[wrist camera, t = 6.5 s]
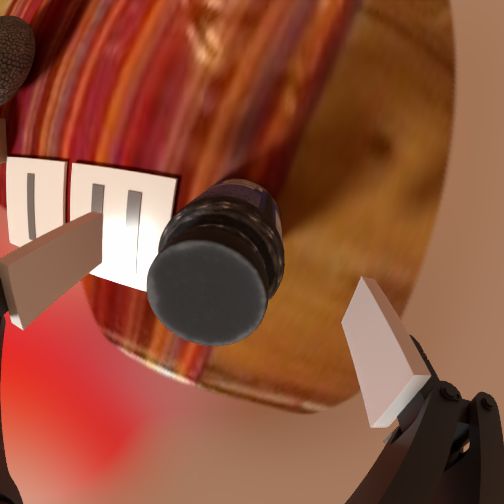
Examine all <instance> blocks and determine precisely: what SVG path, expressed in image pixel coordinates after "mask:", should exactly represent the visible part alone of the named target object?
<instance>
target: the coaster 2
mask: <svg viewBox="0 0 504 504" xmlns="http://www.w3.org/2000/svg"><path fill="white" fill-rule="evenodd" d="M177 181H178V178H172V177H167V176H161V175H156V174H150V173H144V172H138V171H132V170H126V169H119V168H112V167H106V166H98V165H91V164H83V163H72V176H71V198H70V221H72V220H74V219H76V218H78V217H81V216H83V215H85V214H87V213H89V212H92V211H93V212H97V213H102V214H103V262H102V263H101V264H100V265H99V266H97V267H96V268H95V269H93V270H92V271H91V272H90V274H93V275H96V276H99V277H102V278H105V279H108V280H111V281H114V282H117V283H120V284H124V285H127V286H130V287H133V288H136V289H140V290H143V291H146V282H147V274H148V270H149V268H150V266H151V264H152V262H153V260H154V259H155V257H156V256H157V255H158V246H159V241H160V237H161V235H162V233H163V231H164V228H165V227H166V225H167V224H168V222H169V221H170V220H171V218H172V215H173V208H174V201H175V194H176V188H177ZM146 292H147V291H146Z"/></svg>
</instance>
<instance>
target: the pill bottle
mask: <svg viewBox="0 0 504 504" xmlns="http://www.w3.org/2000/svg"><path fill="white" fill-rule="evenodd" d="M284 266H285V263H284V248H283V238H282V229H281V220H280V212H279V209H278V206H277V204H276V202H275V200H274V199H273V197H272V195H271V194H270V193H269V192H268V191H267V190H266V189H265V188H264V187H262V186H261V185H259V184H257V183H256V182H252V181H250V180H247V179H237V178H232V179H226V180H223V181H220V182H217V183H216V184H214V185H213V186H211V187H210V188H209V189H207V190H206V191H205V192H203V193H202V194H201V195H199V196H198V197H197V198H195V199H194V200H193V201H191V202H190V203H189V204H188V205H186V206H185V207H183V208H182V209H181V210H180V211H179V212H178V213H176V214H175V215H174V216H173V217H172V218H171V220H170V221H169V222H168V224H167V225H166V227H165V228H164V231H163V233H162V235H161V237H160V241H159V246H158V255H157V256H156V257H155V259H154V260H153V262H152V264H151V266H150V268H149V270H148V274H147V282H146V291H147V296H148V300H149V303H150V305H151V308H152V310H153V312H154V313H155V315H156V316H157V317H158V319H159V320H160V321H161V322H162V323H163V325H165V327H166V328H168V329H169V330H170V331H171V332H173V333H175V334H176V335H178V336H179V337H181V338H183V339H185V340H187V341H190V342H193V343H196V344H201V345H206V346H224V345H229V344H233V343H235V342H238V341H240V340H243V339H244V338H246V337H247V336H249V335H250V334H251V333H252V332H253V331H254V330H256V329H257V327H258V326H259V325H260V323H261V322H262V319H263V317H264V315H265V312H266V309H267V305H268V301H269V300H270V299H271V298H272V296H273V295H274V294H275V292H276V291H277V289H278V287H279V285H280V282H281V281H282V277H283V273H284Z"/></svg>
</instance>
